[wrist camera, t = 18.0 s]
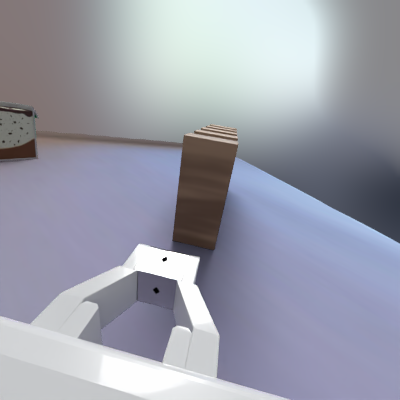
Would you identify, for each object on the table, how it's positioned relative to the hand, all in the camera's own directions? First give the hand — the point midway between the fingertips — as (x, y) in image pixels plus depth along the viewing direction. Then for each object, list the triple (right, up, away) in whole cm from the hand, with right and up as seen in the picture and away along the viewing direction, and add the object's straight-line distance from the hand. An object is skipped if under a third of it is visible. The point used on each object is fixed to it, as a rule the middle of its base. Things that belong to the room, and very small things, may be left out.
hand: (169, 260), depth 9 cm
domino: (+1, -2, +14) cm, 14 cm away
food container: (-38, +12, +29) cm, 49 cm away
